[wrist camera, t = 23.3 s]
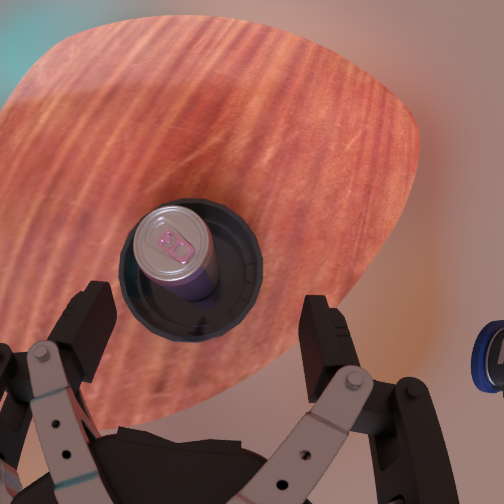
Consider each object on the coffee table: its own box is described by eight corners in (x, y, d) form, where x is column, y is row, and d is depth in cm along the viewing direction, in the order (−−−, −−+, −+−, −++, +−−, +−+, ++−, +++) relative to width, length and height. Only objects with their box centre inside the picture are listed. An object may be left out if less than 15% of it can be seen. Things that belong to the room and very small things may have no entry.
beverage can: (199, 311, 35) (177, 301, 20) (159, 281, 35) (115, 251, 21) (229, 270, 36) (228, 232, 22) (189, 241, 37) (165, 188, 22)
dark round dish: (274, 318, 36) (281, 317, 30) (151, 353, 34) (138, 357, 28) (237, 202, 39) (238, 183, 34) (123, 234, 37) (108, 220, 32)
